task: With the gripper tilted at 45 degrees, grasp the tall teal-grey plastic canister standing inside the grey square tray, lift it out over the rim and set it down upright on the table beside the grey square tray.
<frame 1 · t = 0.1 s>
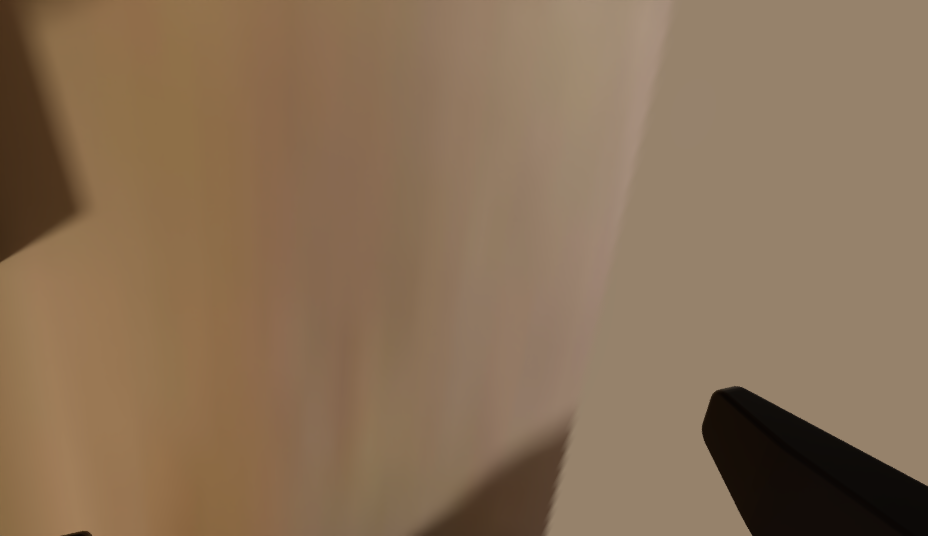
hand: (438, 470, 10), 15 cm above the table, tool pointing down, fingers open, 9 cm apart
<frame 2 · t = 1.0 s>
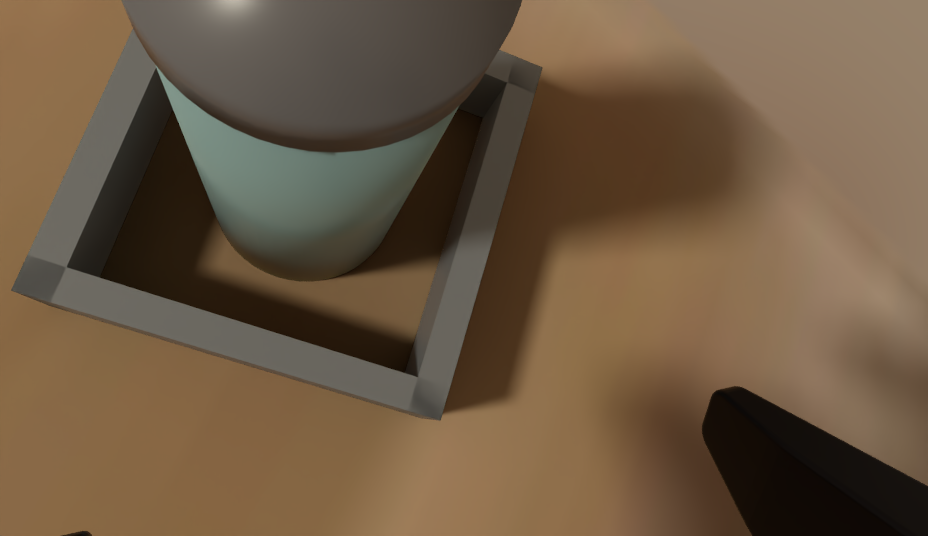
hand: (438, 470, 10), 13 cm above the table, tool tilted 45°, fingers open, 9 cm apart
grey square tray: (306, 194, 24), on the table
canister: (313, 112, 17), in the grey square tray
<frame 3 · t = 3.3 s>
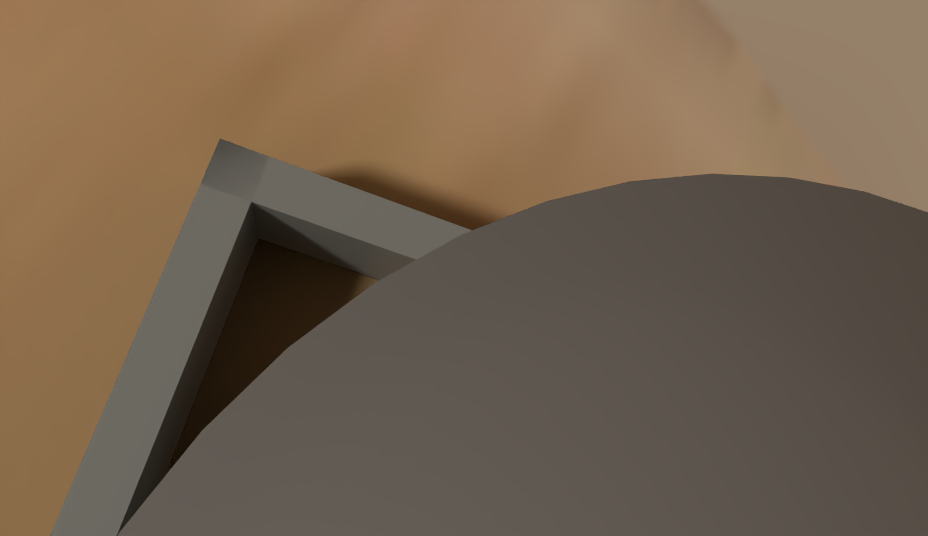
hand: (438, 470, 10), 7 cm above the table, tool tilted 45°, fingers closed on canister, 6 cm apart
grey square tray: (393, 510, 16), on the table
when the fingers open (8 cm above the table, at t = 8.2 s): canister drops 1 cm, on the table.
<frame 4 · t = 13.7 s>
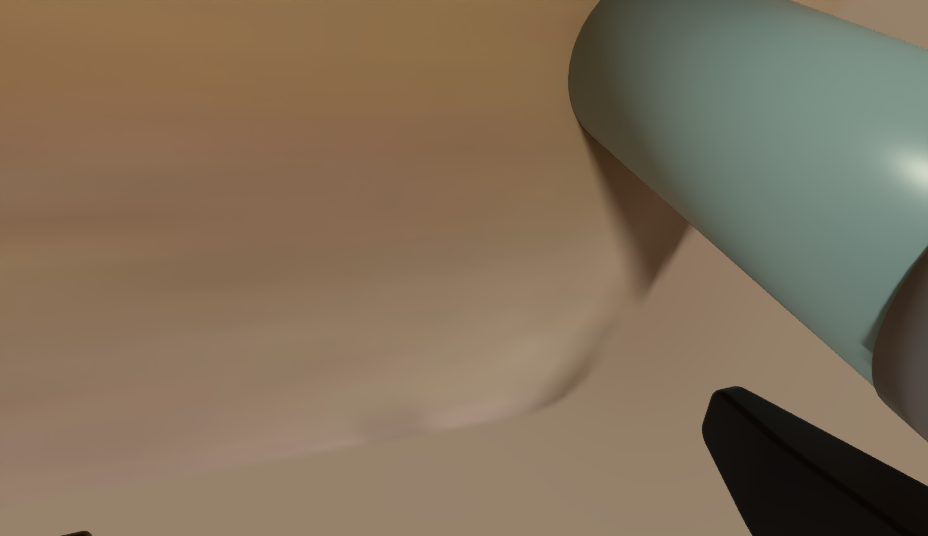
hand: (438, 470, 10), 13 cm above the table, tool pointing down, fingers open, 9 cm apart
canister: (801, 152, 17), on the table
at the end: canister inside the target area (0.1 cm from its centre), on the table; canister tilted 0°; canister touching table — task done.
